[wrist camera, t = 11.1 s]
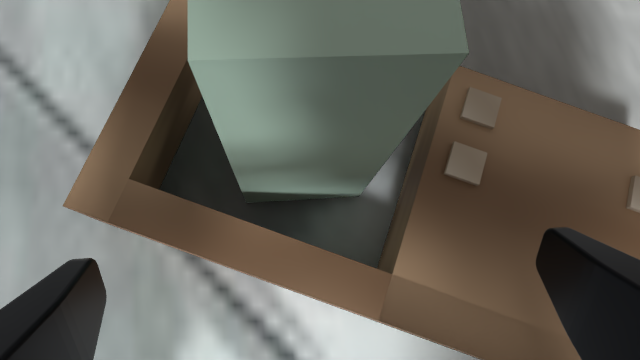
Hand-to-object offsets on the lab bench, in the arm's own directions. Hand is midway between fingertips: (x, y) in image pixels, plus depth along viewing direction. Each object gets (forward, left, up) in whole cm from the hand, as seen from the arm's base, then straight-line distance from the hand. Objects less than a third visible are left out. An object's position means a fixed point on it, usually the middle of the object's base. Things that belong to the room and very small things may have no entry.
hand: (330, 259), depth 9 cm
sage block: (+3, +4, -8) cm, 10 cm away
